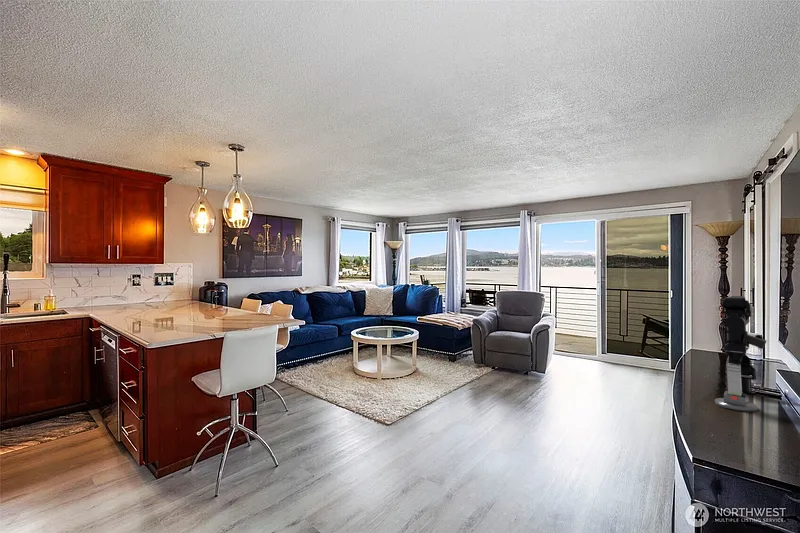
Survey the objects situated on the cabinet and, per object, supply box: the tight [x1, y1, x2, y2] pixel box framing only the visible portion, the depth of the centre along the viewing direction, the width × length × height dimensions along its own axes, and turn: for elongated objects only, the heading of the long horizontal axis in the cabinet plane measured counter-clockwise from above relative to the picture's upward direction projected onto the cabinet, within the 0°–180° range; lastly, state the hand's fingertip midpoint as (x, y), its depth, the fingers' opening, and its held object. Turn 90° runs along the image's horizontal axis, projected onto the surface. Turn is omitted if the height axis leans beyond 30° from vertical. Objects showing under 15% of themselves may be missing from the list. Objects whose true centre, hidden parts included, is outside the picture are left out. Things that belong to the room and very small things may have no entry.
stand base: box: [714, 390, 759, 413], centre depth 138 cm, size 12×12×4 cm
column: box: [726, 362, 742, 397], centre depth 139 cm, size 4×4×12 cm
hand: (738, 366), depth 147 cm, fingers open, 9 cm apart
